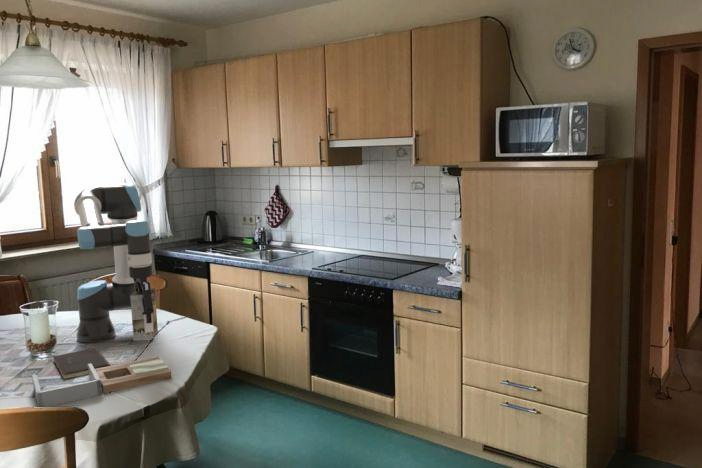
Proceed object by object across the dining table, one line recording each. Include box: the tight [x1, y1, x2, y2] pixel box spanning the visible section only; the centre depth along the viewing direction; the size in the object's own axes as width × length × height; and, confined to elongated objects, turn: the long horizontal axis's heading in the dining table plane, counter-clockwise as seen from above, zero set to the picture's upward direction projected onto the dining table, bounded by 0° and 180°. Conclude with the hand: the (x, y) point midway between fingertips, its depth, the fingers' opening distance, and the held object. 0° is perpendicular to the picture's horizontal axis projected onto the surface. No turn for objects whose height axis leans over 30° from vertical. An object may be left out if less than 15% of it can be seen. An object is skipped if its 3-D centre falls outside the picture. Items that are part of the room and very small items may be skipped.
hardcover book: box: [52, 347, 112, 380], centre depth 227 cm, size 16×23×2 cm
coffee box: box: [130, 287, 159, 342], centre depth 213 cm, size 9×6×16 cm
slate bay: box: [31, 363, 103, 408], centre depth 202 cm, size 18×18×5 cm
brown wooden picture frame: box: [95, 356, 172, 394], centre depth 214 cm, size 18×22×3 cm
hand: (145, 327), depth 214 cm, fingers closed on coffee box, 10 cm apart
